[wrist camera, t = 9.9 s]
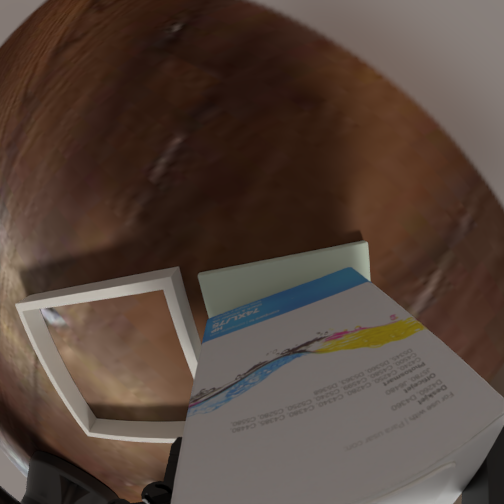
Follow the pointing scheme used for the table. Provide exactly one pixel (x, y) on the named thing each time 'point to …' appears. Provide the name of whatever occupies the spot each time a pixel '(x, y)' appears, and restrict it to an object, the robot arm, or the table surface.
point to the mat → (277, 275)
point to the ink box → (331, 404)
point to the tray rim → (101, 290)
